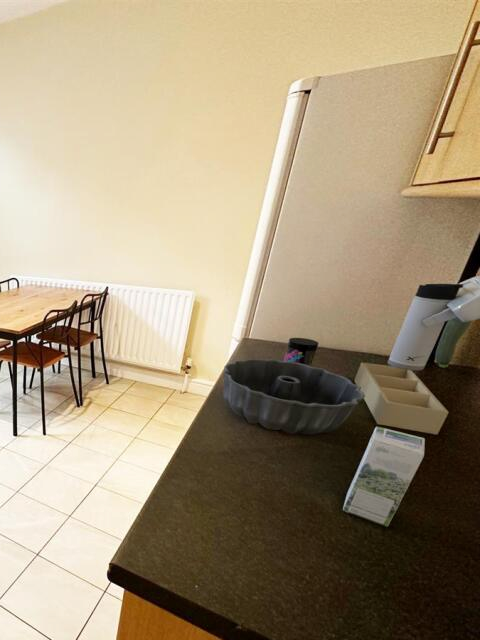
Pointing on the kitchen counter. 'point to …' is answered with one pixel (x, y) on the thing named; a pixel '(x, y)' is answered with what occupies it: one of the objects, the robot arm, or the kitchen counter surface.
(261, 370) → the bundt pan
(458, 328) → the vegetable
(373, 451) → the syrup box
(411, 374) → the organiser
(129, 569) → the kitchen counter surface
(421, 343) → the travel mug
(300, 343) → the supplement container
